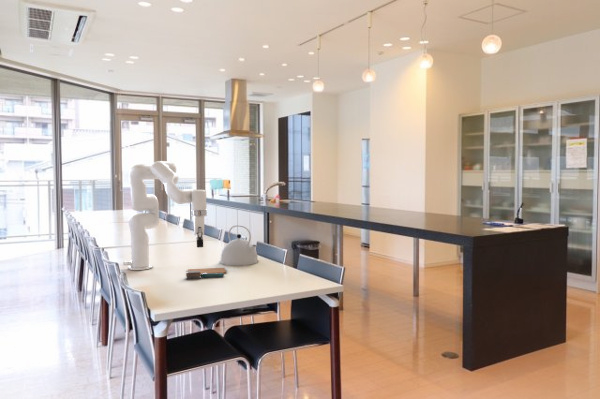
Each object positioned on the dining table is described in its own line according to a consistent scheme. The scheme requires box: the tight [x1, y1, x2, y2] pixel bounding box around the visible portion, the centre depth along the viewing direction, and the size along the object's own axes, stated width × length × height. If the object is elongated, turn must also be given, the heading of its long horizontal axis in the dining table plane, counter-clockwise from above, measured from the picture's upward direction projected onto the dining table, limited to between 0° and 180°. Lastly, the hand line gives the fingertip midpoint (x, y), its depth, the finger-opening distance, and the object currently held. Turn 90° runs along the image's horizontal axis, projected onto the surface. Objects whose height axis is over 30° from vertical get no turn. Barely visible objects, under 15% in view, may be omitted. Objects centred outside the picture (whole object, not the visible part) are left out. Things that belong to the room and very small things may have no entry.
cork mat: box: [187, 267, 227, 275], centre depth 253 cm, size 20×12×1 cm, turn 103°
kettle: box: [220, 224, 259, 266], centre depth 281 cm, size 25×23×22 cm
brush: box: [185, 270, 225, 280], centre depth 239 cm, size 19×4×4 cm, turn 103°
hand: (199, 245), depth 239 cm, fingers open, 9 cm apart
